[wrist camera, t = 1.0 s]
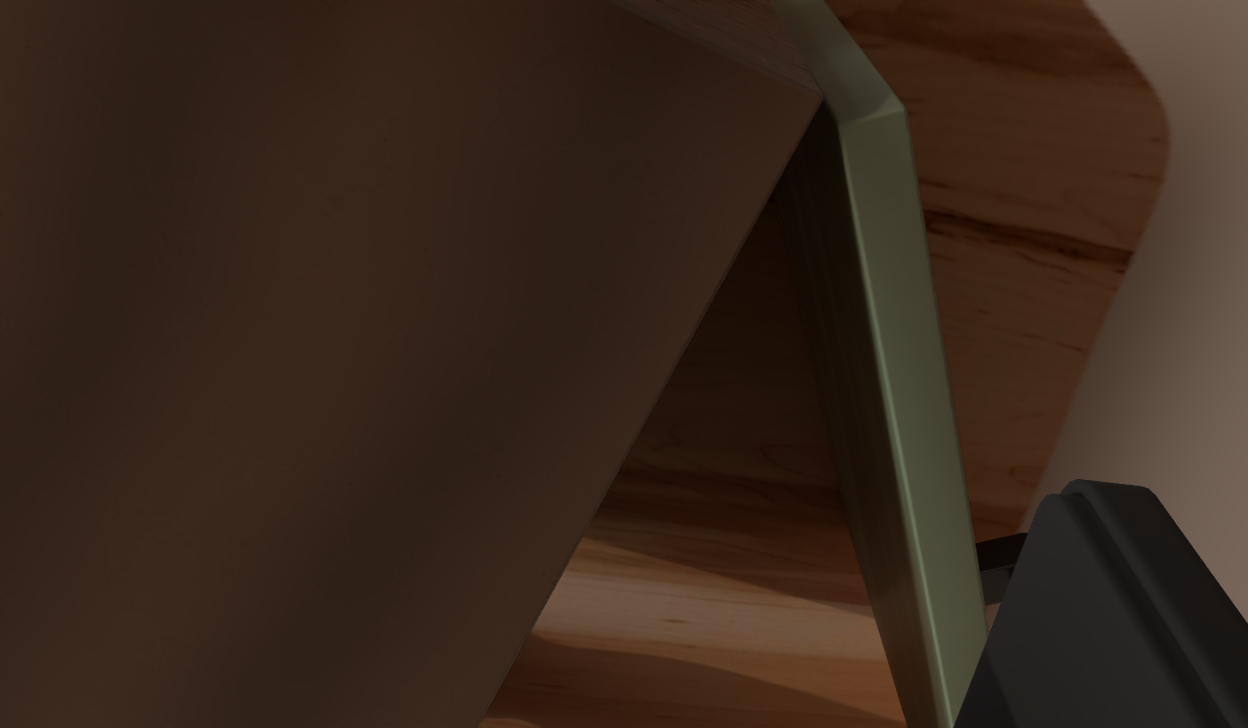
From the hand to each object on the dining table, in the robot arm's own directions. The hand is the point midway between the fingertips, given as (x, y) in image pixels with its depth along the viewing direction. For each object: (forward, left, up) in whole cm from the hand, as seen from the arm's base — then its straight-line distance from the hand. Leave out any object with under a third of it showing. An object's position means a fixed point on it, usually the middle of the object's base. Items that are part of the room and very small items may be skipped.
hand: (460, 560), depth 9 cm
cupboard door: (+5, +15, -33) cm, 36 cm away
